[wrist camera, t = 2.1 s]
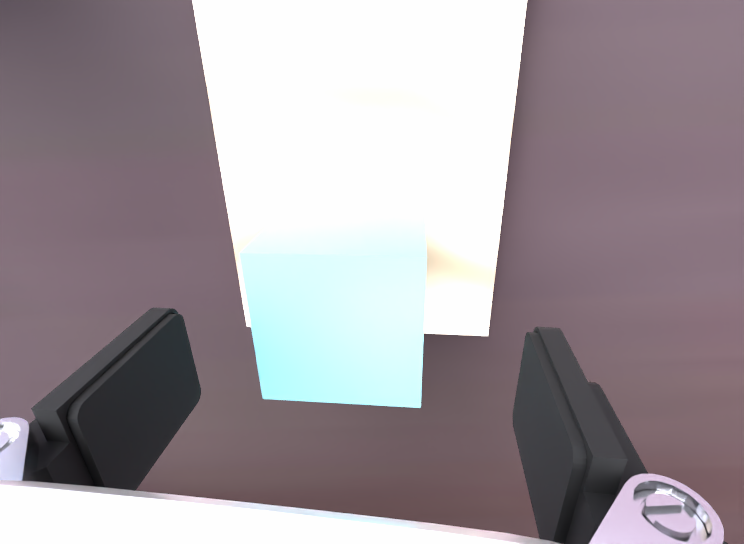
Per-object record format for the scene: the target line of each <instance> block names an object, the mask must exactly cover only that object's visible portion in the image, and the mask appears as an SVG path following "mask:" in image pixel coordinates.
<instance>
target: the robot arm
mask: <svg viewBox="0 0 744 544" xmlns="http://www.w3.org/2000/svg"><path fill="white" fill-rule="evenodd" d="M200 395H201V388H200V384H199V380H198V376H197V372H196V368H195V364H194V360H193V356H192V351H191V347H190V343H189V339H188V335H187V331H186V327H185V323H184V319H183V317H182V315H180V314H178V312H177V311H176V310H175V309H170V308H152V309H150V310H149V311H147V312H146V313H145V314H144V315H143V316H141V317H140V318H139V319H138V320H137V321H135V322H134V323H133V324H132V325H131V326H129V327H128V328H127V329H126V330H125V331H123V332H122V333H121V334H120V335H119V336H118V337H116V338H115V339H114V340H113V341H112V342H110V343H109V344H108V345H107V346H106V347H104V348H103V349H102V350H101V351H100V352H98V353H97V354H96V355H95V356H94V357H92V358H91V359H90V360H89V361H88V362H86V363H85V364H84V365H83V366H82V367H80V368H79V369H78V370H77V371H76V372H74V373H73V374H72V375H71V376H70V377H68V378H67V379H66V380H65V381H64V382H63V383H61V384H60V385H59V386H58V387H57V388H55V389H54V390H53V391H52V392H51V393H49V394H48V395H47V396H46V397H45V398H43V399H42V400H41V401H40V402H39V403H37V404H36V405H35V406H34V407H33V408H31V409H32V411H33V413H34V415H35V417H36V419H35V420H34V421H32V422H31V423H30V424H29V423H28V422H27V421H26V420H25V419H23V418H18V417H10V418H2V419H0V544H727V543H726V542H724V528H723V526H722V523H721V521H720V518H719V516H718V515H717V514H716V512H715V511H714V510H713V508H712V507H711V506H710V504H709V503H707V502H706V501H705V500H704V499H703V498H702V497H701V496H700V495H699V494H698V493H696V492H695V491H693V490H692V489H690V488H689V487H687V486H685V485H684V484H682V483H680V482H678V481H675V480H673V479H671V478H669V477H665V476H661V475H657V474H648V472H647V471H646V469H645V467H644V465H643V463H642V462H641V460H640V458H639V456H638V454H637V452H636V451H635V449H634V447H633V445H632V443H631V441H630V440H629V438H628V436H627V434H626V432H625V430H624V429H623V427H622V425H621V423H620V421H619V419H618V418H617V416H616V414H615V412H614V410H613V408H612V407H611V405H610V403H609V401H608V399H607V397H606V396H605V394H604V392H603V390H602V389H601V387H600V386H599V385H598V384H596V383H591V382H588V381H587V379H586V378H585V376H584V374H583V372H582V370H581V368H580V366H579V364H578V362H577V360H576V358H575V356H574V354H573V352H572V350H571V348H570V346H569V344H568V342H567V341H566V339H565V337H564V335H563V333H562V331H561V329H559V328H545V327H536V328H535V329H534V332H533V333H532V332H527V334H526V337H525V343H524V349H523V355H522V361H521V367H520V373H519V379H518V385H517V391H516V397H515V403H514V409H513V427H514V431H515V435H516V440H517V444H518V448H519V452H520V457H521V461H522V465H523V469H524V474H525V478H526V482H527V486H528V490H529V495H530V499H531V503H532V507H533V512H534V516H535V520H536V524H537V528H538V533H539V537H540V539H537V538H532V537H526V536H520V535H515V534H509V533H502V532H495V531H487V530H479V529H472V528H464V527H457V526H449V525H441V524H434V523H426V522H417V521H408V520H399V519H391V518H382V517H373V516H364V515H356V514H347V513H338V512H330V511H321V510H312V509H303V508H294V507H284V506H275V505H266V504H257V503H248V502H239V501H229V500H220V499H211V498H201V497H192V496H182V495H173V494H163V493H153V492H143V491H135V490H136V489H137V487H138V486H139V485H140V483H141V482H142V480H143V479H144V478H145V476H146V475H147V473H148V472H149V471H150V469H151V468H152V466H153V465H154V463H155V462H156V461H157V459H158V458H159V456H160V455H161V454H162V452H163V451H164V449H165V448H166V447H167V445H168V444H169V442H170V441H171V440H172V438H173V437H174V435H175V434H176V432H177V431H178V430H179V428H180V427H181V425H182V424H183V423H184V421H185V420H186V418H187V417H188V416H189V414H190V413H191V411H192V410H193V409H194V407H195V406H196V404H197V403H198V401H199V399H200Z"/></svg>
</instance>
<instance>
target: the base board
mask: <svg viewBox="0 0 744 544" xmlns="http://www.w3.org/2000/svg"><path fill="white" fill-rule="evenodd" d="M192 1H193V7H194V13H195V19H196V25H197V31H198V37H199V43H200V49H201V55H202V61H203V67H204V73H205V79H206V85H207V91H208V97H209V103H210V109H211V115H212V121H213V127H214V133H215V139H216V145H217V151H218V157H219V163H220V169H221V175H222V181H223V187H224V193H225V199H226V205H227V211H228V217H229V223H230V229H231V235H232V241H233V247H234V253H235V259H236V265H237V271H238V277H239V283H240V289H241V295H242V301H243V307H244V313H245V319H246V325H247V326H248V327H251V323H250V317H249V311H248V304H247V298H246V292H245V286H244V280H243V273H242V267H241V261H240V255H239V253H240V252H241V251H242V250H243V249H244V248H245V247H246V246H247V245H248V244H249V243H250V242H251V241H252V240H253V239H254V238H255V237H256V236H257V235H258V234H260V233H261V232H262V231H263V230H264V229H265V228H266V227H267V226H268V225H269V224H270V223H271V222H272V221H273V220H274V219H275V218H276V217H277V216H278V215H279V214H280V213H281V212H282V211H283V210H284V209H285V208H286V207H287V206H288V205H289V204H290V203H291V202H292V201H294V200H295V199H296V198H297V197H298V196H358V197H424V213H425V232H426V251H427V265H426V290H425V315H424V333H426V334H451V335H476V336H488V331H489V323H490V314H491V306H492V297H493V288H494V280H495V271H496V263H497V254H498V245H499V237H500V228H501V220H502V211H503V203H504V194H505V185H506V177H507V168H508V160H509V151H510V143H511V134H512V125H513V117H514V108H515V100H516V91H517V83H518V74H519V65H520V57H521V48H522V40H523V31H524V23H525V14H526V5H527V0H192Z"/></svg>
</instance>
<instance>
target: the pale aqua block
mask: <svg viewBox="0 0 744 544" xmlns="http://www.w3.org/2000/svg"><path fill="white" fill-rule="evenodd" d="M239 255H240V261H241V267H242V273H243V280H244V286H245V292H246V298H247V304H248V311H249V317H250V323H251V329H252V335H253V341H254V348H255V354H256V360H257V366H258V372H259V379H260V385H261V391H262V397H263V399H275V400H293V401H310V402H328V403H346V404H363V405H381V406H399V407H416V408H421V389H422V364H423V339H424V315H425V290H426V265H427V251H426V232H425V213H424V197H358V196H298V197H297V198H296V199H295V200H294V201H292V202H291V203H290V204H289V205H288V206H287V207H286V208H285V209H284V210H283V211H282V212H281V213H280V214H279V215H278V216H277V217H276V218H275V219H274V220H273V221H272V222H271V223H270V224H269V225H268V226H267V227H266V228H265V229H264V230H263V231H262V232H261V233H260V234H258V235H257V236H256V237H255V238H254V239H253V240H252V241H251V242H250V243H249V244H248V245H247V246H246V247H245V248H244V249H243V250H242V251H241V252H240V253H239Z"/></svg>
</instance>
